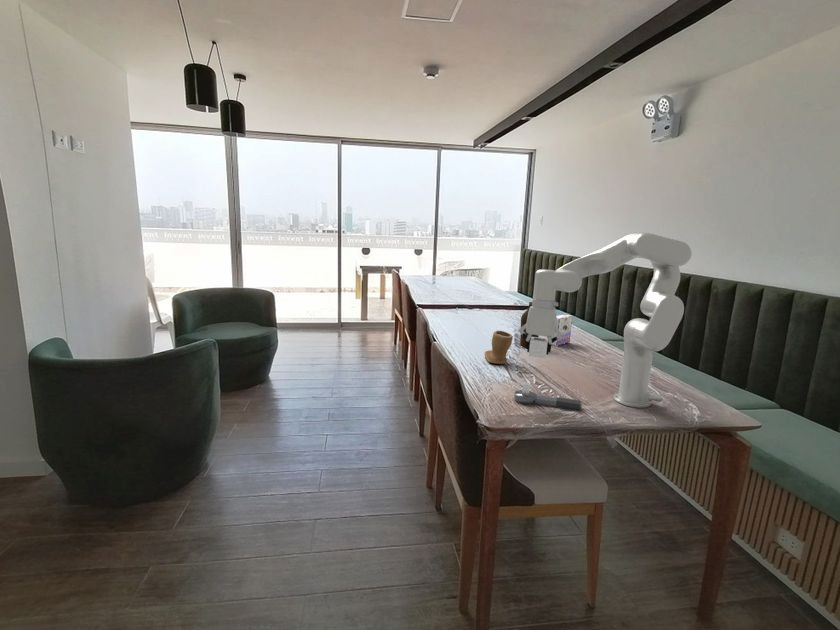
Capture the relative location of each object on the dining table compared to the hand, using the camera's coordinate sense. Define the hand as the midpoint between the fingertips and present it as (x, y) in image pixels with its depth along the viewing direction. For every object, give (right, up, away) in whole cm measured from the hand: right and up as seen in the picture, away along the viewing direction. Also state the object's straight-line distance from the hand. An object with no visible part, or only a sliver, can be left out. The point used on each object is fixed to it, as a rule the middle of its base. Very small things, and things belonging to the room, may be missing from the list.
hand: (537, 352), depth 154 cm
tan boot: (-5, -9, +51) cm, 52 cm away
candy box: (+37, -3, +89) cm, 97 cm away
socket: (0, -1, 0) cm, 1 cm away
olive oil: (+18, -4, +81) cm, 83 cm away
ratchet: (+3, -19, 0) cm, 19 cm away
